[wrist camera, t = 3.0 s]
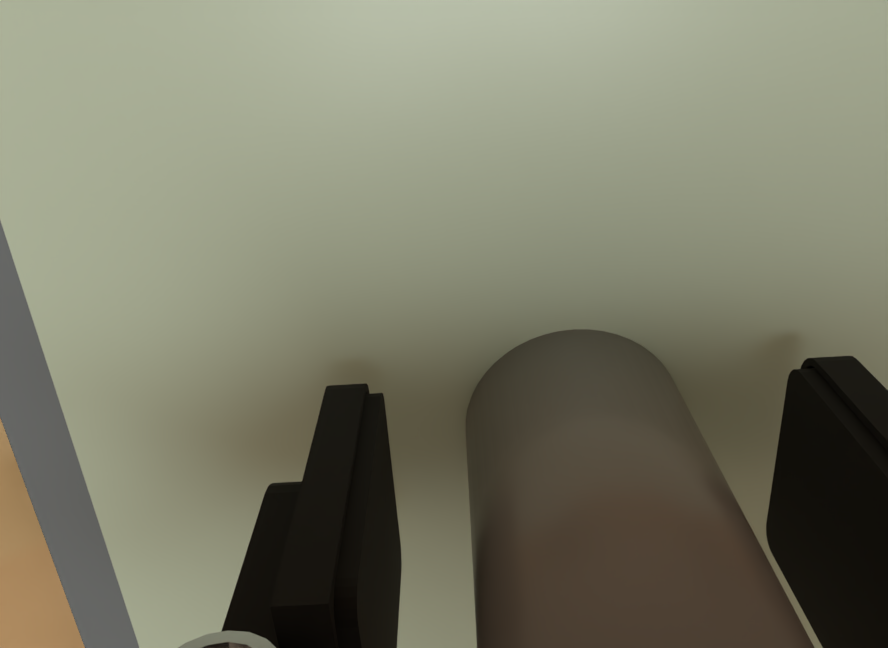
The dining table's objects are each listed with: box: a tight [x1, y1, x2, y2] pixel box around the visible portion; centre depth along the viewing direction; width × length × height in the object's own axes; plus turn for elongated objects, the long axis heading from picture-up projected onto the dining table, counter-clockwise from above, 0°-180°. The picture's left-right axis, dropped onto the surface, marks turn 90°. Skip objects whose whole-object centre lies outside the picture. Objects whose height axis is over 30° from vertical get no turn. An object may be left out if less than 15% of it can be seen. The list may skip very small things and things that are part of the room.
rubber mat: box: [0, 221, 139, 648], centre depth 13 cm, size 18×18×1 cm
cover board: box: [0, 0, 888, 648], centre depth 9 cm, size 15×15×7 cm
